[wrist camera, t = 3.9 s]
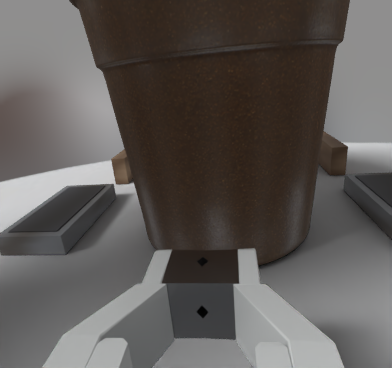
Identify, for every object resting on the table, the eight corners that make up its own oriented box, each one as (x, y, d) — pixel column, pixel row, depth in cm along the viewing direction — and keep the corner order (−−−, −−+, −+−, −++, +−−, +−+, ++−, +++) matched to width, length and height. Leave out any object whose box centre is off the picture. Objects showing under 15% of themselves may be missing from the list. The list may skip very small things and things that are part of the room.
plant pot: (74, 242, 22) (10, -3, 17) (204, 177, 34) (192, 18, 28) (275, 351, 12) (283, -164, 7) (363, 207, 24) (393, -30, 18)
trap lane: (1, 255, 21) (-13, 218, 20) (120, 158, 45) (117, 138, 44) (494, 250, 17) (509, 204, 16) (341, 146, 41) (343, 124, 40)
